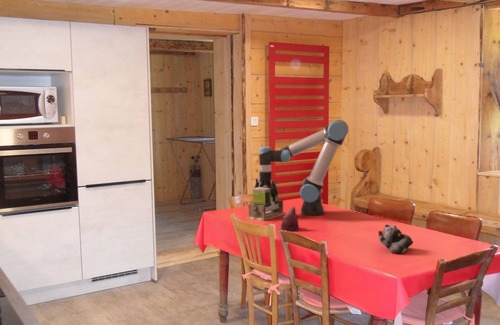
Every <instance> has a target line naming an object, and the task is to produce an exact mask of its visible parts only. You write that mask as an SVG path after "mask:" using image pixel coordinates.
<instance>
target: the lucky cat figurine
mask: <svg viewBox="0 0 500 325" xmlns="http://www.w3.org/2000/svg"><path fill="white" fill-rule="evenodd" d="M378 240H379V242H380V243H381V244H382V245H383V246H384V247H385V248H386V249H388V251H390V252H391V253H392V254H393V255H394V254H395V255H401V254H403V253H404V252H406V251H407V249H408V248H410V246H412V245H413V243H414V241H413V240H412V238H411V236H410V235H408V234H403V233H402V231H401V230H400V229H399V228H397V225H396V224H394V225H393V226H391V225H388V224H385V226H384V228H383V229H382V230H378Z"/></svg>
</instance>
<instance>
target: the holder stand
mask: <svg viewBox="0 0 500 325" xmlns="http://www.w3.org/2000/svg"><path fill="white" fill-rule="evenodd" d="M278 206H279V208H278V209H274V210H272V211H269V212H265V205H258V204H253V203H248V219H249V220H255V221H261V222H266V221H268V220H272V219H274V218H278V217H280V216H284V200H283V199H278Z"/></svg>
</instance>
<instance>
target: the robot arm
mask: <svg viewBox="0 0 500 325" xmlns="http://www.w3.org/2000/svg"><path fill="white" fill-rule="evenodd" d="M348 133H349V126H348V123H347V122H345V120H342V119H336V120H334V121H332V122H331V123H329V124H328V125H326V126H325V127H323V129H322V130H319V131H317V132H315V133H313V134H311V135H309V136H306V137H304V138H302V139H300V140H297V141H296V142H292V143H291V144H288V145H287V146H285V147H281V148H280V149H274V150H273V149H272V147H271V146H261V147H259V151H258V156H259V157H258V159H259V160H258V162H259V164H258V166H259V167H258V168H259V178H256V179H255V186H254V188H258V187H263V186H267V187H268V188H273V189H271V195H272V196H271V207H274V206H275V205H274V202H275V196H277V195H278V196H279V191H278V192H277V188H276V186H277V184H276V180H275V179H274V180H273V179H272V163H289V162H290V161H291V158H292V157H294V156H297V155H299V154H301V153H303V152H306V151H308V150H309V149H310V150H311V149H313V148H314V147H317V146H319V145H321V144H323V146H322V148H321V150H320V152H319V155H318V156H317V158H316V161H315V163H314V166H313V168H312V170H311V173H310V175H308V176H306V178H303V181H302V186H301V187H300V189H299V195H300V198H301V200H302V201H303V203H302V205H301V208H300V214H301V215H304V216H311V217H312V216H313V217H315V216H322V215H324V214H325V209H324V205H323V202H322V189H323V187H324V183H323V181H324V180H325V178H326V174H327V172H328V170H329V168H330V166H331V164H332V161H333V159H334V157H335V155H336V152H337V150H338V148H339V147H341V146H342V145H343V143H344V141H345V139H346V137H347V135H348Z"/></svg>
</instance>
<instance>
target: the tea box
mask: <svg viewBox="0 0 500 325" xmlns="http://www.w3.org/2000/svg"><path fill="white" fill-rule="evenodd" d="M276 188H277V192H278V193H279V189H278V186H277V185H276ZM271 189H273V188H268V187H267V186H263V187H258V188H255V187H253V188H252V204H258V205H265V212H269V211H272V210H274V209H278V208H279V206H278V200H279V194H278V195H277V196H275V202H274V205H275V206H274V207H271V196H272V195H271Z"/></svg>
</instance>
